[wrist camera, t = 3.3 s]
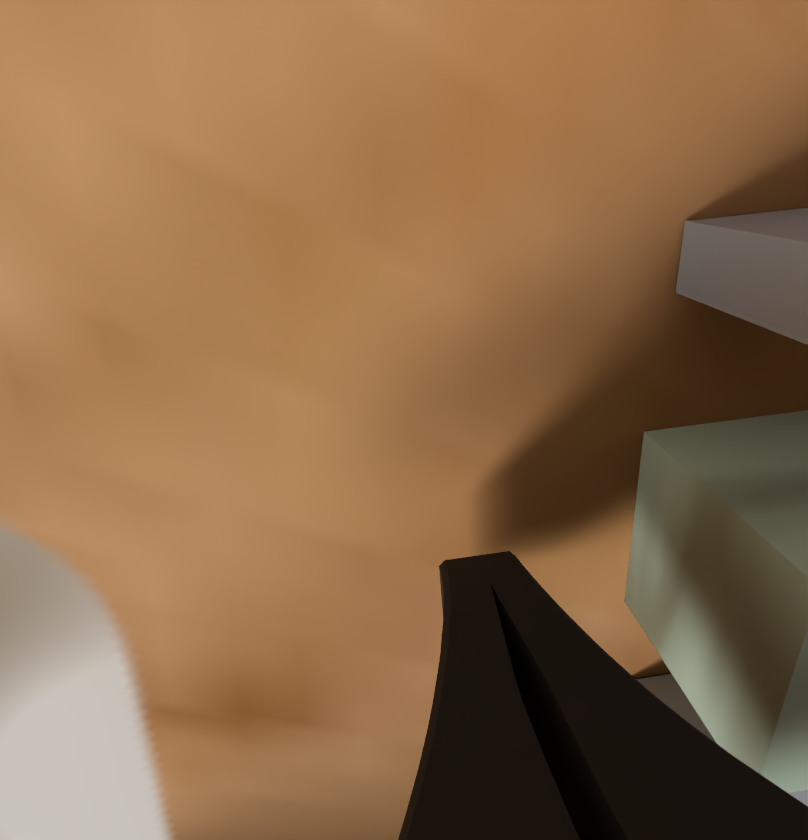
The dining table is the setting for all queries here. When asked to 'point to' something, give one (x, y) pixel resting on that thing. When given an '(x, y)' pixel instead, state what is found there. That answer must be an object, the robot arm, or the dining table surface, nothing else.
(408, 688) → the dining table surface
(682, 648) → the green block
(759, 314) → the tunnel
